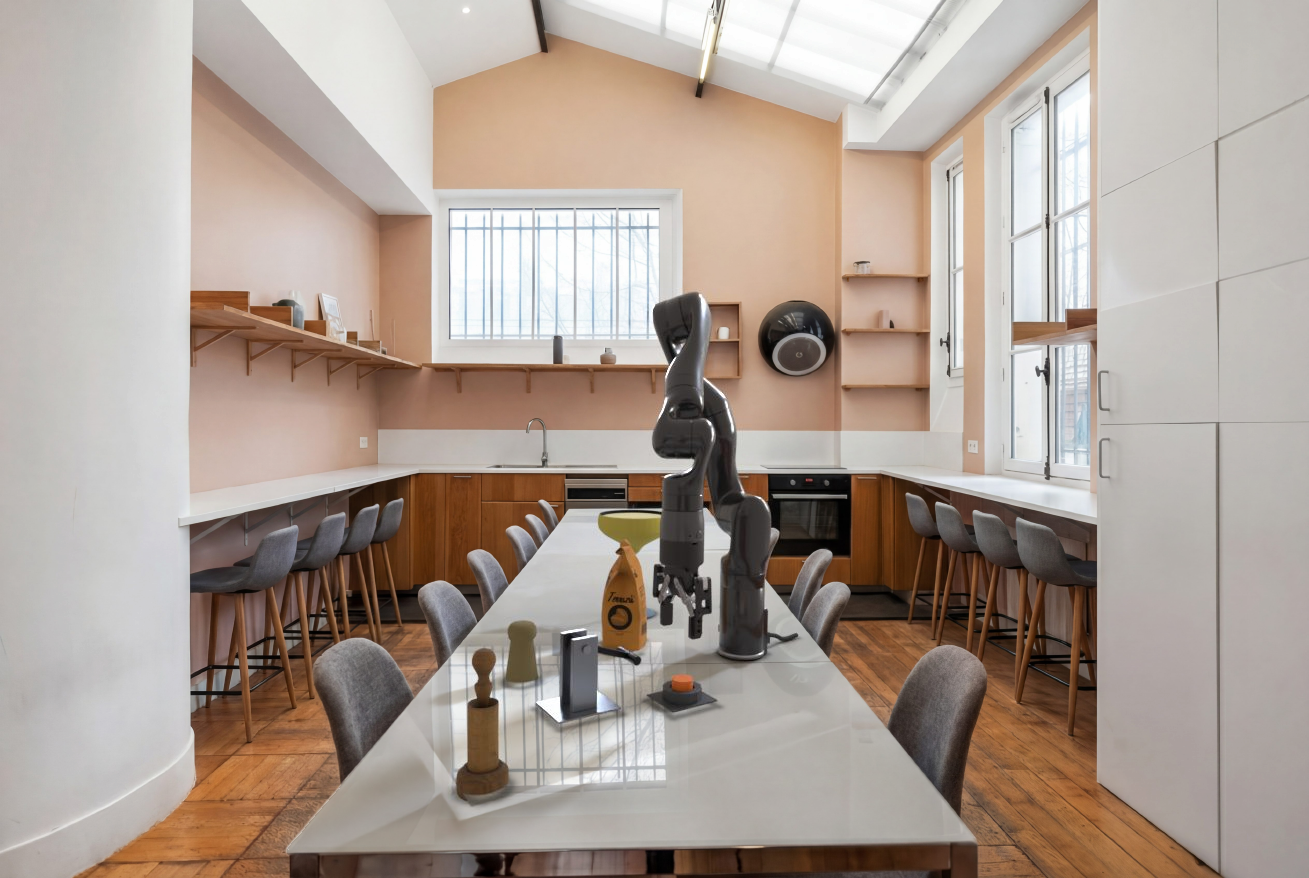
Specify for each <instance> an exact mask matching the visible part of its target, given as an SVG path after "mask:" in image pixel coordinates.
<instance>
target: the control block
mask: <svg viewBox="0 0 1309 878" xmlns="http://www.w3.org/2000/svg"><path fill="white" fill-rule="evenodd" d="M671 685H672V680H667V681H666V682H665V683H663V684H662V690H660V691H656V692H652V693H647V694H646V696H647V697H648V698H650V699H651V700H652V701H654V702H656V703H658V704H659V705H661V706H662V707H664V708H665V709H667V710H669V711H670V712H672V713H676V712H680V711H684V710H689V709H692V708H696V707H701V706H704V705H708V704H713V703H715V702H718V699H717V698H715V697H713V696H711V695H710V694H708V693H706V692H704V691H703V687H702V684H701V683H699V682H696V681H694V680H693V689H692V690H690V691H676V690H673V689H672V688H671Z"/></svg>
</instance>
